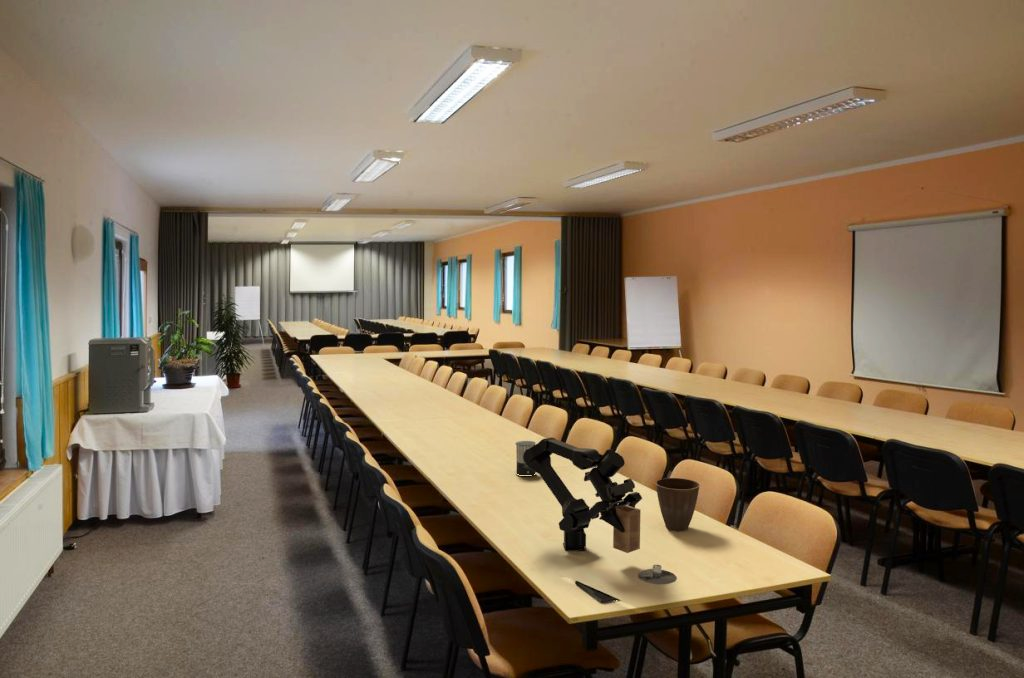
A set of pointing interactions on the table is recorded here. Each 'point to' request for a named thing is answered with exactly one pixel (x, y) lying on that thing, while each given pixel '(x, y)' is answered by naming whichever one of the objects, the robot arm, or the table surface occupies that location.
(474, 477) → the table surface
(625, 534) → the walnut sleeve
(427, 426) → the table surface
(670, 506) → the plant pot
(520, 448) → the milk frother
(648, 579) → the peg stand
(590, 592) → the phone
